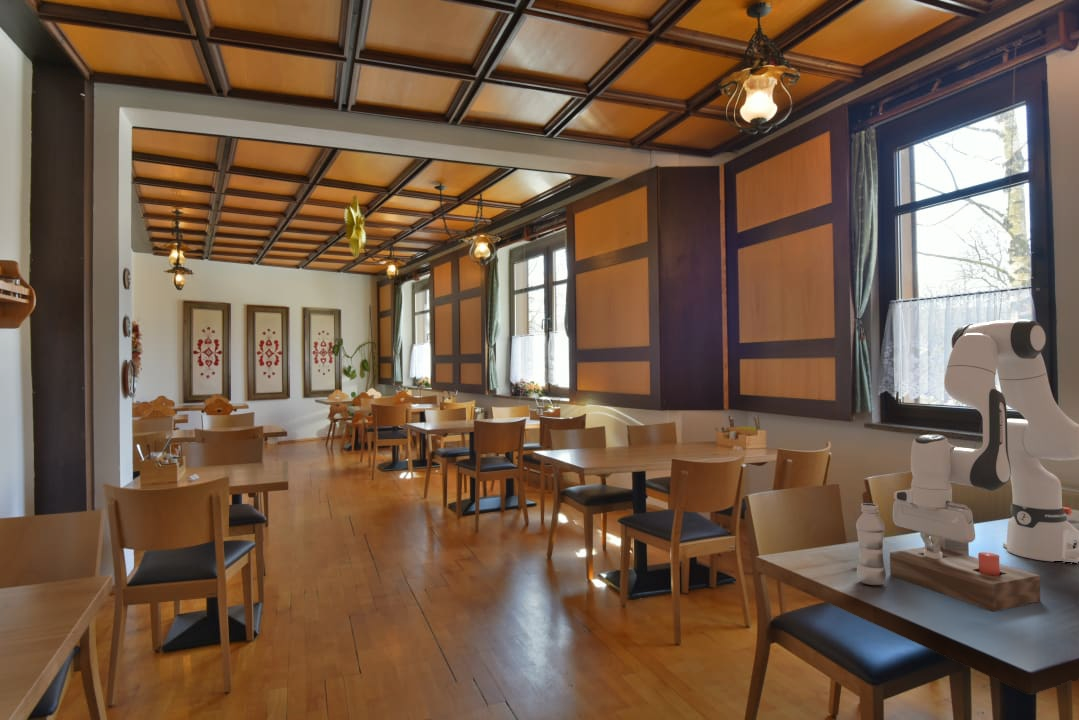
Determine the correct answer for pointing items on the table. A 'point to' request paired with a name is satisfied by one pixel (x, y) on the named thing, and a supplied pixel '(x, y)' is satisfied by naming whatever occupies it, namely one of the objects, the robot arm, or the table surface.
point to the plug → (932, 554)
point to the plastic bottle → (870, 546)
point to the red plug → (989, 563)
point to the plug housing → (966, 579)
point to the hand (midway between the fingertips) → (932, 551)
